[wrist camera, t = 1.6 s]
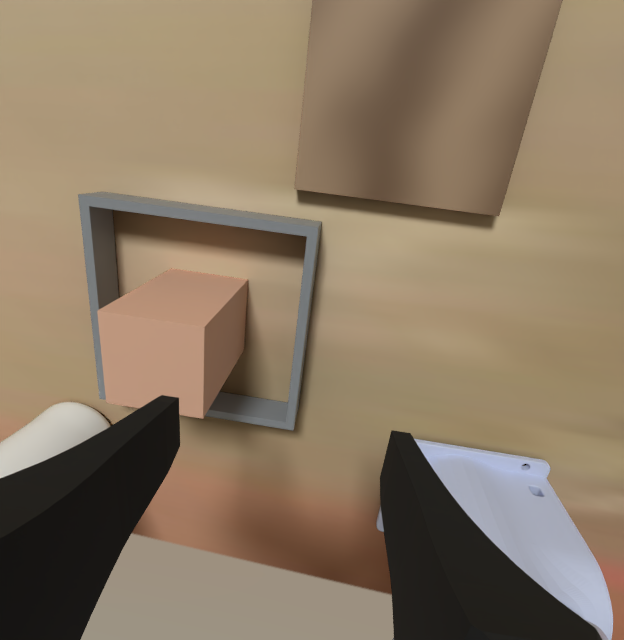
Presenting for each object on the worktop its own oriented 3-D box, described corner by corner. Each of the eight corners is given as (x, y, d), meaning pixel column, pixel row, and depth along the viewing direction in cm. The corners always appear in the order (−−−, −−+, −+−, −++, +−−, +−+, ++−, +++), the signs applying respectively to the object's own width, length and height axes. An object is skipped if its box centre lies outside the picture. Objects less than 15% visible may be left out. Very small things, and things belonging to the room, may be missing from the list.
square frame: (321, 221, 21) (318, 227, 19) (297, 410, 25) (293, 430, 23) (102, 191, 21) (78, 194, 19) (118, 381, 26) (99, 398, 24)
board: (566, -39, 16) (577, -49, 15) (493, 214, 20) (498, 216, 19) (321, -64, 16) (319, -75, 16) (296, 188, 20) (294, 189, 19)
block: (248, 279, 22) (204, 327, 16) (244, 349, 24) (203, 418, 17) (171, 268, 22) (97, 310, 16) (172, 338, 24) (106, 402, 18)
